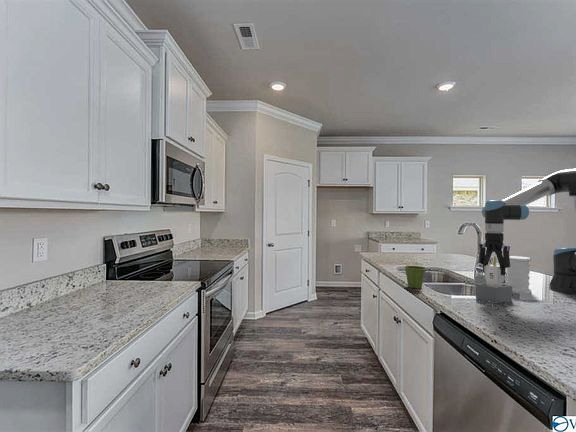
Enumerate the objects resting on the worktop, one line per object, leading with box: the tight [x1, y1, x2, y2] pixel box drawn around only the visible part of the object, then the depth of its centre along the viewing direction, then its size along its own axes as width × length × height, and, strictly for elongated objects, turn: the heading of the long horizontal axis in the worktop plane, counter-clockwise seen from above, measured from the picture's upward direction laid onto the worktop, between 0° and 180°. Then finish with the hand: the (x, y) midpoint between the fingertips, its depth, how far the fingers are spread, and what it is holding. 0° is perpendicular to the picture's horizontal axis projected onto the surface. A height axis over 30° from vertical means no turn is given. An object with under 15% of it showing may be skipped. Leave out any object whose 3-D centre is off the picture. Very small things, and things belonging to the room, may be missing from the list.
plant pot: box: [404, 265, 427, 290], centre depth 181 cm, size 12×12×11 cm
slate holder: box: [475, 283, 513, 304], centre depth 154 cm, size 11×10×7 cm
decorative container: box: [505, 255, 532, 295], centre depth 171 cm, size 12×12×18 cm
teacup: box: [473, 274, 504, 287], centre depth 172 cm, size 14×11×8 cm
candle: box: [486, 256, 503, 288], centre depth 154 cm, size 6×6×15 cm
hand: (493, 280), depth 154 cm, fingers closed on candle, 6 cm apart
